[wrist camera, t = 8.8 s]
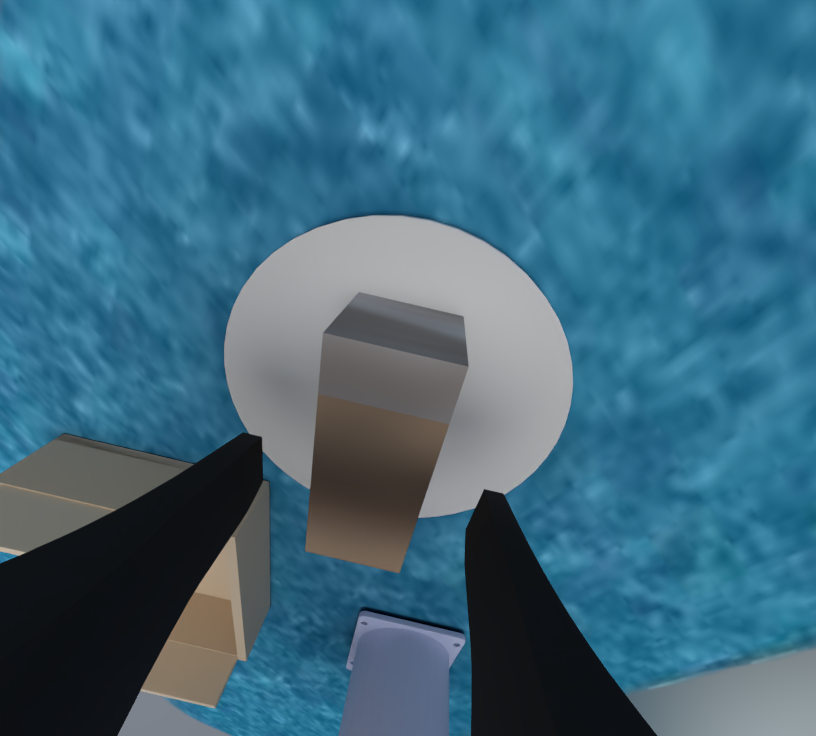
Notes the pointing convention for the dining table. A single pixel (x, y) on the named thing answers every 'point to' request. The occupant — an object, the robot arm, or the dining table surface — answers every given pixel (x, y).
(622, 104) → the dining table surface
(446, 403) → the brown rectangular block
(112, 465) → the wooden tray
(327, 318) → the plate
